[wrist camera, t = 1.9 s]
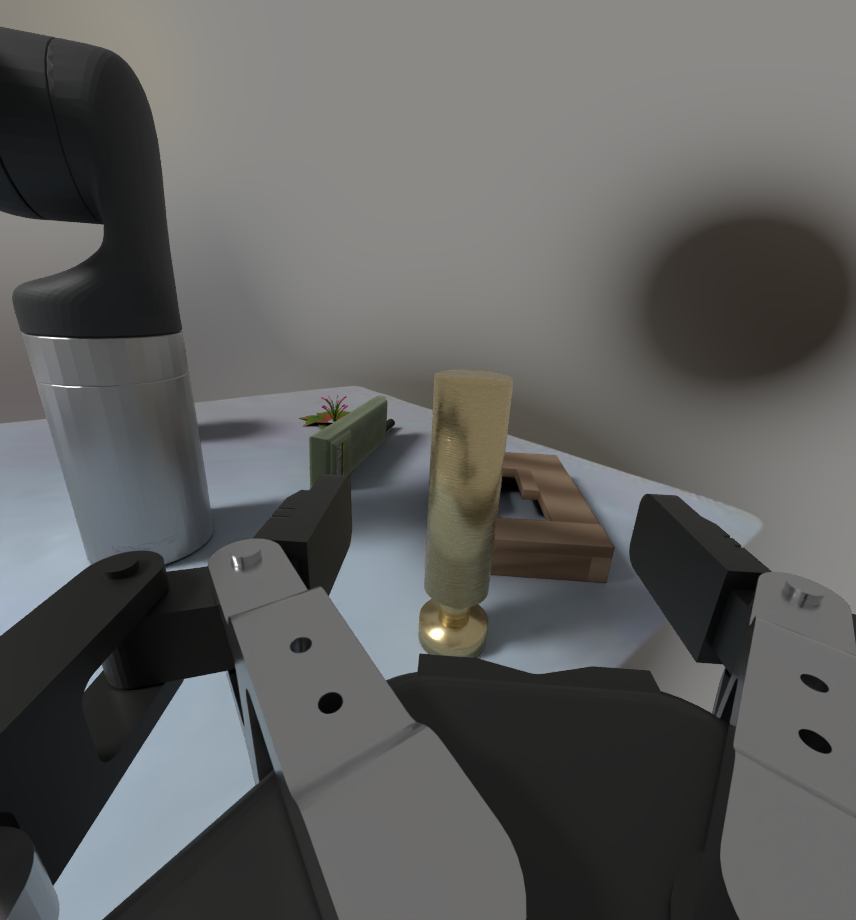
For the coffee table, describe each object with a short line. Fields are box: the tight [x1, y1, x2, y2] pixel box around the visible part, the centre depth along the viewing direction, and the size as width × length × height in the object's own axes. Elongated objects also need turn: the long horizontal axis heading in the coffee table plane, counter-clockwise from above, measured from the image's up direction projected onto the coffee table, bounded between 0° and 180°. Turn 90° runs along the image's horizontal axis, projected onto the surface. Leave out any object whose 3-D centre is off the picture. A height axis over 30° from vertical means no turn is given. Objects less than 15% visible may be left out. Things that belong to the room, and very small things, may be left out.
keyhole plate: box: [490, 452, 615, 583], centre depth 43 cm, size 20×14×3 cm
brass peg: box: [419, 370, 514, 658], centre depth 25 cm, size 4×4×17 cm
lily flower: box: [301, 396, 350, 429], centre depth 71 cm, size 12×12×5 cm
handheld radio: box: [309, 396, 395, 489], centre depth 57 cm, size 7×3×25 cm
